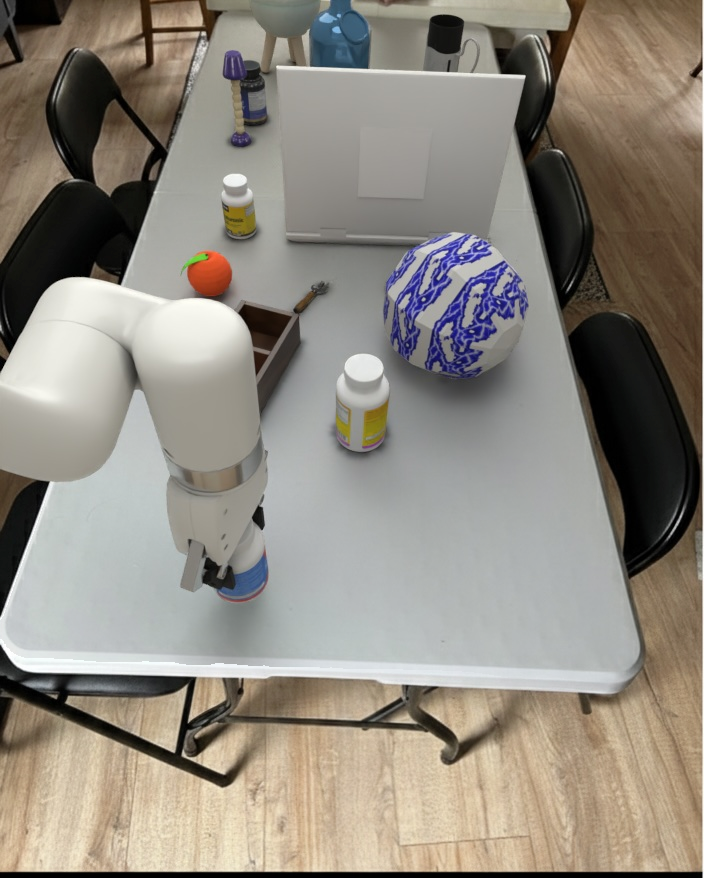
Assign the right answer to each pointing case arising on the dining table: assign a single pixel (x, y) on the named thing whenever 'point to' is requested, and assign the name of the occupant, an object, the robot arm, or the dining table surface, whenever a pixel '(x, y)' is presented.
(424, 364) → the ornament
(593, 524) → the dining table surface
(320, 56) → the wine bottle
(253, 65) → the pill bottle
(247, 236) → the supplement bottle
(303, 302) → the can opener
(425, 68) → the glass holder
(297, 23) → the planter
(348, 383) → the supplement bottle
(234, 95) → the toy lamp
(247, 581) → the pill bottle
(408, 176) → the laptop
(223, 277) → the clementine
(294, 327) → the caddy
